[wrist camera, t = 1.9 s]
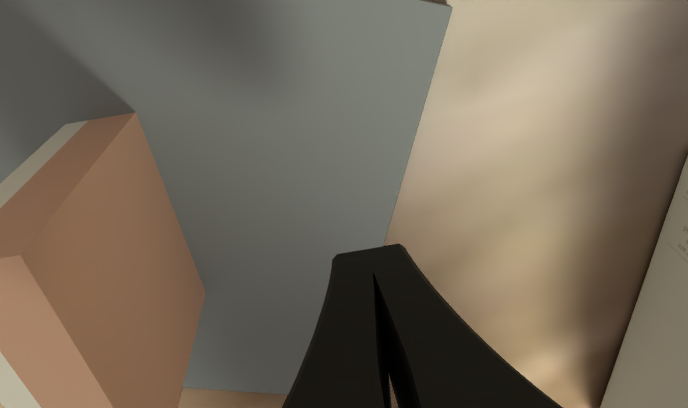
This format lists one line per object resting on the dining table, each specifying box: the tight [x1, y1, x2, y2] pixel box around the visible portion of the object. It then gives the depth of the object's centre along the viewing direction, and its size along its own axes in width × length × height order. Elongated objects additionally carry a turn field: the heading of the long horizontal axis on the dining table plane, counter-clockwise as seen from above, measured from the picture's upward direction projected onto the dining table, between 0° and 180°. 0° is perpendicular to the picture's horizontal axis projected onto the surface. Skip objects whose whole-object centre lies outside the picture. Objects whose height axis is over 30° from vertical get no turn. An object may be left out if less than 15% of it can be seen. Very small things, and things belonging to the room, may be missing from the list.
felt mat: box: [0, 0, 453, 395], centre depth 14 cm, size 14×15×1 cm
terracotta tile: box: [0, 112, 206, 408], centre depth 11 cm, size 2×6×6 cm, turn 9°
